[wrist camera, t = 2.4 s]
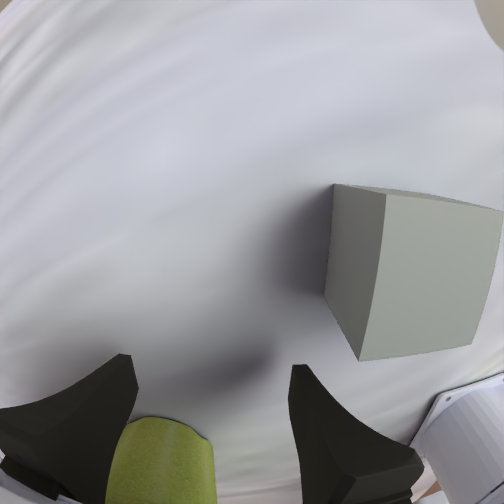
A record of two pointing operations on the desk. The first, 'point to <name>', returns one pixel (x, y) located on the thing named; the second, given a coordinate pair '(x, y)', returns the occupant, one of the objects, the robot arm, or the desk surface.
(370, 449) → the robot arm
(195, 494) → the plant pot
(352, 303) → the slate block
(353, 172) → the desk surface
